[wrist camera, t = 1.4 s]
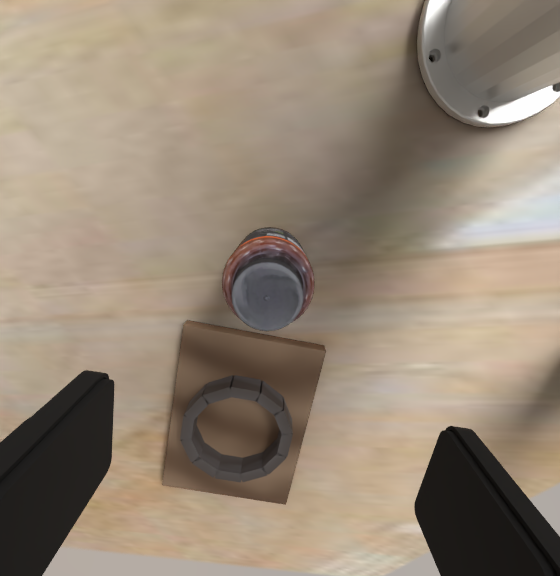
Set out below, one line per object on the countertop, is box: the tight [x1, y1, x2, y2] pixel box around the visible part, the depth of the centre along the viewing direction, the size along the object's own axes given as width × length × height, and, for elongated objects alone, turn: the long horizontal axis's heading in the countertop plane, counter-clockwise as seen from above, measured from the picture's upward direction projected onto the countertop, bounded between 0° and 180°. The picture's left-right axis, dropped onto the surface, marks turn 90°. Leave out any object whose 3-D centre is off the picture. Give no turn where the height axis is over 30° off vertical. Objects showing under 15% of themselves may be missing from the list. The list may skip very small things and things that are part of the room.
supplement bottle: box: [222, 227, 314, 331], centre depth 23 cm, size 6×6×11 cm
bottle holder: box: [162, 320, 326, 505], centre depth 31 cm, size 18×13×3 cm
